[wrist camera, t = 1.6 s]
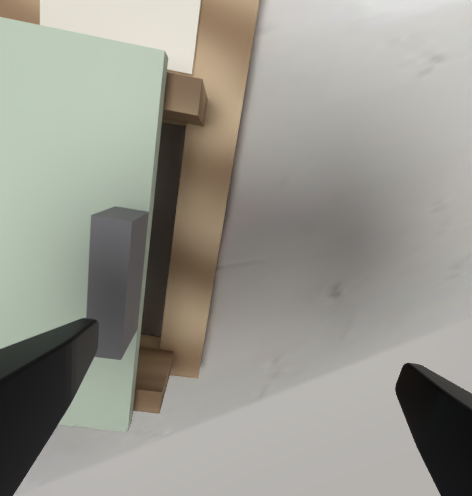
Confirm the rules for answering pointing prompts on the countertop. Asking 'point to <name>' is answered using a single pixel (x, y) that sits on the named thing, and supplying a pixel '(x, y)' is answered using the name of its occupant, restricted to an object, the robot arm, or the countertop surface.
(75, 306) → the sliding cover
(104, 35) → the cream pad
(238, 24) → the puzzle board
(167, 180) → the countertop surface
